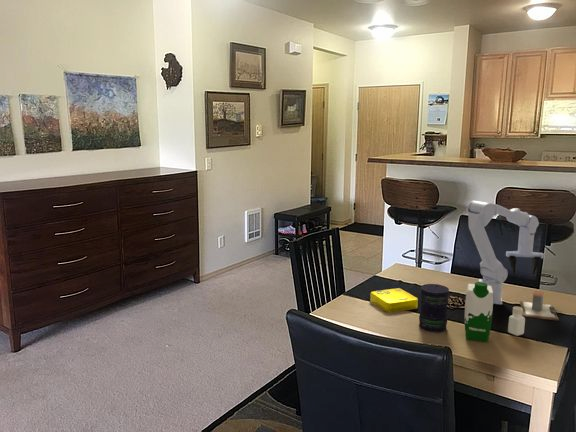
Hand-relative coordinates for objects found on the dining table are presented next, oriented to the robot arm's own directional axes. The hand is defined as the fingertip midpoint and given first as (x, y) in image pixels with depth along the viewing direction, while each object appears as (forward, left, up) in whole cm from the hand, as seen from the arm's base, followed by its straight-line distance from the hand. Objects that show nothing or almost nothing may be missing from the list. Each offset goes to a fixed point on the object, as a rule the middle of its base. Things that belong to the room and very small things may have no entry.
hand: (522, 273), depth 204 cm
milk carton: (-18, -50, -11) cm, 54 cm away
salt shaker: (-5, -42, -11) cm, 44 cm away
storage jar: (-33, -47, -11) cm, 58 cm away
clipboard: (+5, -16, -10) cm, 20 cm away
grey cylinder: (+4, -16, -10) cm, 20 cm away
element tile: (-50, -29, -11) cm, 59 cm away
